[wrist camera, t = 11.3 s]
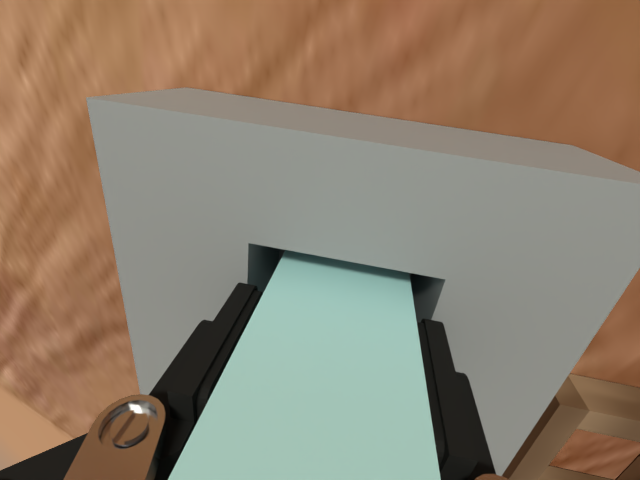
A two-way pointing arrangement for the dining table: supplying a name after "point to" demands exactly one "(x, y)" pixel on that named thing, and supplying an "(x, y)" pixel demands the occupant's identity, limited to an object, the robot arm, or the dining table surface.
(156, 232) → the port block
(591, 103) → the dining table surface
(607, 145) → the dining table surface
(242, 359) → the plug
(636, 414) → the square wooden frame
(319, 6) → the dining table surface
